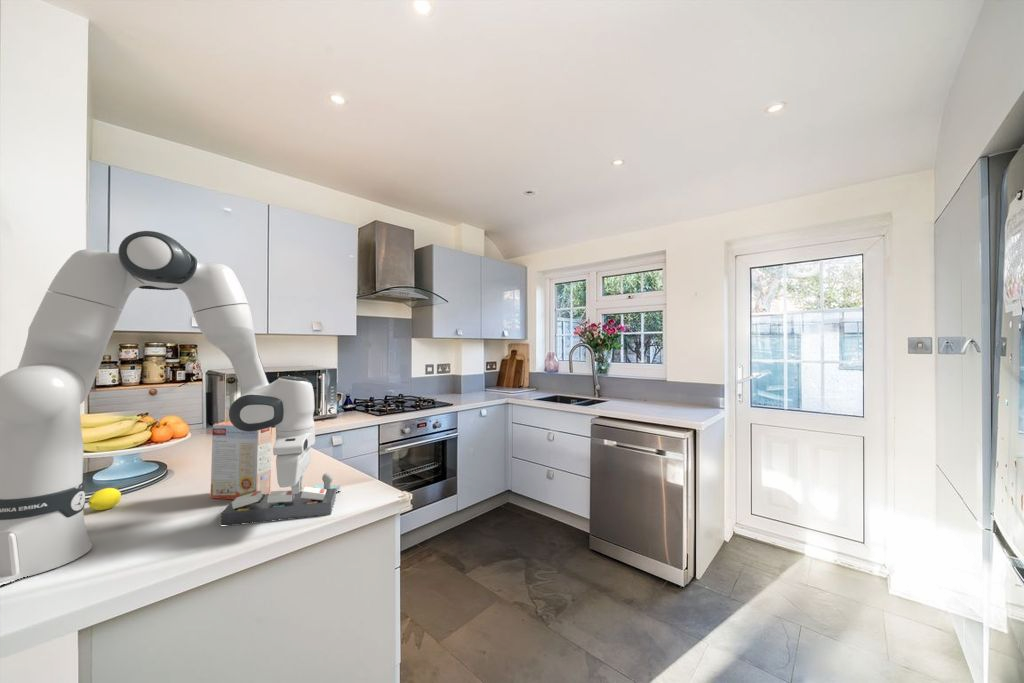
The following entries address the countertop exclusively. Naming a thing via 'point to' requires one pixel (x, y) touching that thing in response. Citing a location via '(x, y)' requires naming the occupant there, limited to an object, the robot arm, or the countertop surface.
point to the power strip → (278, 509)
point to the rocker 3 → (313, 493)
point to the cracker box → (240, 461)
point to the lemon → (104, 499)
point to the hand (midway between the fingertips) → (296, 491)
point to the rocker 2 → (280, 496)
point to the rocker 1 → (247, 499)
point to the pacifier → (327, 483)
